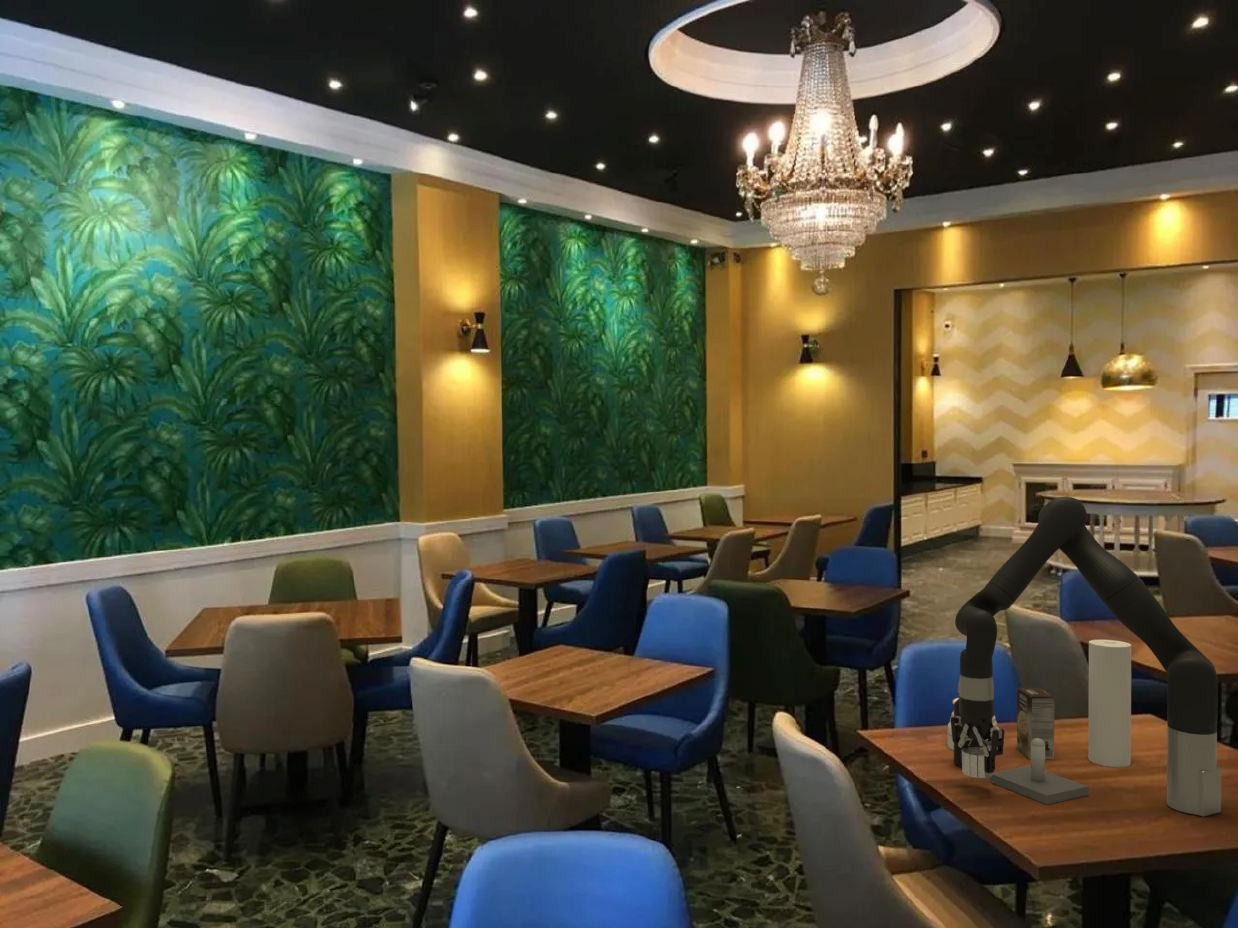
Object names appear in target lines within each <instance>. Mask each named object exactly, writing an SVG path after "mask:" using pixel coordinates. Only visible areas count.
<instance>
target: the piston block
mask: <svg viewBox="0 0 1238 928" xmlns="http://www.w3.org/2000/svg"><path fill="white" fill-rule="evenodd" d="M989 782H990V783H992V782H993V783H992V784H994V783H995V784H994V785H997V786H999V785H1000V787H1002V786H1003V787H1002V788H1005V789H1006V790H1010V791H1012V792H1015V793H1017V794H1019V795H1022V796H1025V797H1027V796H1028V797H1027V798H1029V797H1030V798H1029V799H1033V800H1035V801H1037V802H1039V803H1043V804H1045V805H1050V804H1055V803H1060V802H1064V801H1069V800H1074V799H1078V798H1082V797H1086V796H1089V786H1088V785H1085V784H1082V783H1081V782H1077V781H1074V780H1071V779H1069V778H1066V777H1064V776H1061V775H1057V774H1054V773H1051V772H1050V771H1047V770H1046V759H1045V743H1044V741H1043V740H1042V739H1039V738H1035V739H1033V740H1032V742H1031V759H1030V764H1029V765H1024V766H1021V767H1014V768H1010V769H1005V770H1000V771H994V772H993V775H992V776H991V777H989Z"/></svg>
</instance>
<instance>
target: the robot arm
mask: <svg viewBox="0 0 1238 928" xmlns="http://www.w3.org/2000/svg"><path fill="white" fill-rule="evenodd" d="M1037 520H1038V521H1037V522H1038V523H1037V525H1036V527H1035V528H1034V530H1033V531H1032V532H1031V534H1030V535H1029V537H1028V538H1027V539H1026V540H1025V541H1024V543H1023V544H1022V545H1020V546H1019V548H1018V549H1017V550H1016V551H1015V552H1014V553H1013V554H1012V555H1011V556H1010V557H1009V558H1008V559H1007V560H1006V561H1005V562H1004V563H1003V565H1002V566H1001V567H999V569H998V570H997V571H996V573H995V574H994V575H993V576H992V577H991V578H990V580H989V581H988V582H987V583H986V584H985V586H984V587H983V588H982V589H981V590H979V592H977V593H976V594H974V595H973V596H972V597H971V598H970V599H968V601H967V602H965V603H964V604H963V605H962V606H961V607H960V609H959V610H958V612H957V614H956V616H955V620H954V623H955V628H956V629H957V631H958V632H959V633H960V634H962V635H963V636H966V642H965V649H963V650H962V651H961V652H960V653H959V654H960V656H959V680H958V681H959V682H958V683H959V695H958V698H959V713H960V715H962V717H961V716H954V717H951V716H950V718H951V730H952V740H953V742H954V743H957V744H958V746H959V747H960V760H961V763H962V749H963V748H967V747H968V746H969V745H970V743H971V741H972V740H973V739H975V740H976V741H978V742H979V745H980V747H982V748H983V751H984V754H985V756H984V765H985V772H986V773H992V772H993V773H994V772H995V771H996V757H997V756H1001V755H1003V754H1004V745H1005V744H1004V743H1005V730H1004V729H1003V728H999V729H997V728H994V726H993V724H992V719H993V717H994V715H995V685H994V680H993V679H994V677H993V676H994V675H993V664H994V663H993V656H994V652H995V647H996V643H997V638H998V625H997V621H996V619H995V617H994V616H996V615H997V614H998V613H999V612H1001V611H1006V610H1008V609H1010V608H1011V607H1012V606H1013V605H1014V603H1015V602H1016V601H1017V600H1018V599H1019V597H1020V596H1021V595H1022V594H1023V592H1024V591H1025V590H1026V589H1027V588H1028V586H1029V585H1030V584H1031V582H1032V581H1033V579H1034V578H1035V577H1036V576H1037V574H1038V573H1039V572H1040V571H1041V569H1042V568H1043V567H1044V565H1046V563H1047V562H1048V561H1049V559H1050V558H1051V557H1052V556H1053V555H1054V554H1055V553H1056V552H1057V551H1058V550H1060V551H1061V552H1062V553H1063V554H1064V555H1065V556H1066V557H1067V558H1068V559H1069V560H1070V561H1071V563H1073V565H1074V566H1075V567H1076V569H1077V570H1078V571H1079V572H1080V575H1081V576H1082V577H1083V578H1084V579H1085V581H1086V582H1087V584H1088V585H1089V586H1090V588H1091V589H1092V590H1093V591H1094V592H1095V594H1096V596H1098V598H1099V599H1100V600H1101V601H1102V602H1103V604H1104V605H1105V607H1106V608H1107V609H1108V610H1109V611H1110V612H1111V614H1113V616H1114V617H1115V618H1116V619H1117V620H1118V621H1119V622H1120V623H1121V624H1122V625H1124V627H1125V628H1127V629H1128V631H1130V632H1131V633H1132V634H1133V635H1135V636H1136V637H1137V638H1138V639H1140V641H1142V642H1143V643H1144V644H1145V645H1146V646H1147V647H1148V649H1150V651H1151V652H1152V654H1153V655H1154V656H1155V658H1156V659H1157V660H1158V662H1159V663H1160V665H1161V666H1162V668H1163V669H1164V671H1165V673H1166V674H1167V679H1166V681H1167V683H1166V684H1167V688H1166V691H1167V693H1166V694H1167V695H1166V696H1167V697H1166V699H1167V701H1166V702H1167V704H1166V705H1167V706H1166V717H1167V718H1166V720H1167V722H1166V723H1167V725H1166V727H1167V728H1166V730H1167V732H1166V733H1167V734H1166V735H1167V737H1166V738H1167V739H1166V741H1167V742H1166V749H1167V750H1166V766H1167V767H1166V805H1167V806H1168V807H1170V808H1171V809H1173V810H1176V811H1178V812H1182V813H1186V814H1191V815H1196V816H1201V817H1207V816H1208V817H1209V816H1211V815H1215V814H1218V813H1222V768H1221V767H1219V766H1217V765H1218V763H1217V762H1218V759H1217V758H1218V757H1217V753H1218V752H1217V751H1218V749H1217V748H1218V744H1217V743H1218V740H1217V739H1218V713H1219V712H1218V711H1219V709H1218V706H1219V705H1218V703H1219V683H1218V682H1219V681H1218V675H1217V669H1216V668H1215V665H1214V664H1213V662H1212V661H1211V660H1210V659H1209V658H1208V657H1207V656H1206V655H1205V654H1203V653H1202V652H1201V651H1200V650H1199V649H1198V648H1197V647H1196V646H1195V645H1194V644H1193V643H1192V642H1191V641H1190V640H1189V639H1188V638H1187V637H1186V636H1185V635H1184V634H1183V633H1182V632H1181V631H1180V630H1179V629H1178V628H1177V626H1176V624H1174V622H1173V621H1172V619H1171V618H1170V616H1169V615H1168V614H1167V612H1166V611H1165V609H1164V607H1163V606H1162V605H1161V604H1160V603H1159V601H1158V600H1157V598H1156V597H1155V596H1154V594H1153V593H1152V592H1151V591H1150V589H1149V588H1148V587H1147V586H1146V585H1145V583H1144V582H1143V581H1142V580H1141V579H1140V578H1139V576H1138V575H1137V574H1136V573H1135V572H1134V571H1133V569H1131V568H1130V567H1129V566H1127V565H1126V564H1125V563H1124V562H1122V561H1121V560H1120V559H1119V558H1117V557H1116V556H1115V555H1113V554H1112V553H1111V552H1109V551H1108V550H1107V549H1105V548H1104V547H1103V546H1102V545H1101V544H1100V543H1099V542H1098V541H1097V540H1096V538H1095V537H1094V535H1092V533H1091V532H1090V531H1089V530H1088V528H1087V527H1086V523H1087V520H1088V513H1087V509H1086V508H1085V506H1084V504H1083V503H1082V502H1081V501H1080V500H1079V499H1077V498H1074V497H1072V496H1066V495H1065V496H1058V497H1056V498H1053V499H1051V500H1049V502H1047V503H1046V504H1045V505H1044V506H1042V508H1041V509H1040V510H1039V512H1038V517H1037ZM957 732H958V737H957ZM991 733H992V735H991ZM987 739H988V742H984V741H985V740H987ZM988 746H989V749H990V751H989V749H988ZM997 746H998V748H997Z"/></svg>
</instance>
